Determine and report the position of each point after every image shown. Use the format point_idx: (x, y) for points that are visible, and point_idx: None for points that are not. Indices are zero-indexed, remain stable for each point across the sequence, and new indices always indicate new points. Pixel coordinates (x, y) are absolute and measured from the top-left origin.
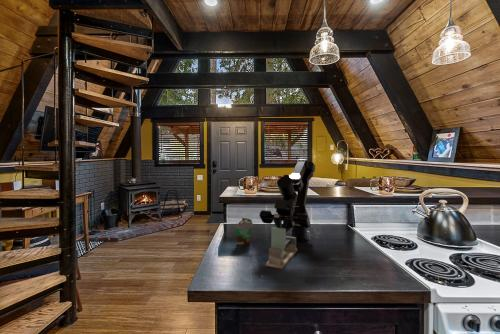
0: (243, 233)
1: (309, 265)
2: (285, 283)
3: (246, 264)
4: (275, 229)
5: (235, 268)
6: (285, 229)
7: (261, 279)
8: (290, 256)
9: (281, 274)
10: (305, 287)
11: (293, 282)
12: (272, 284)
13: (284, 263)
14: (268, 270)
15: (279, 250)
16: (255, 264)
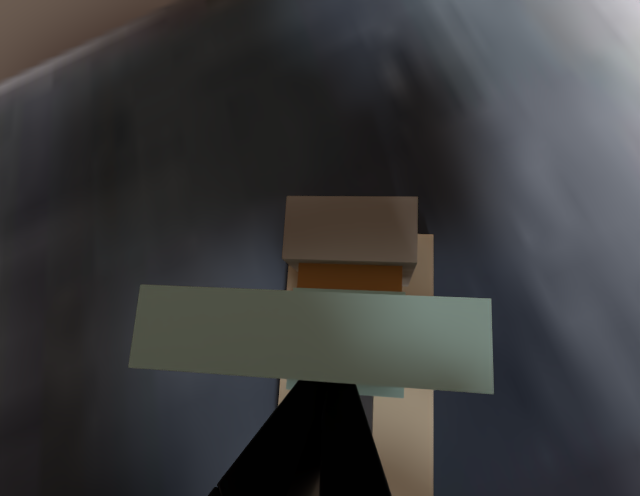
0: None
1: (114, 383)
2: (229, 50)
3: (596, 201)
4: (372, 298)
5: (635, 97)
6: (141, 356)
7: (377, 32)
8: None
9: (278, 148)
10: (121, 56)
11: (188, 80)
12: (295, 8)
13: (287, 289)
14: (382, 169)
15: (291, 197)
16: (524, 231)
